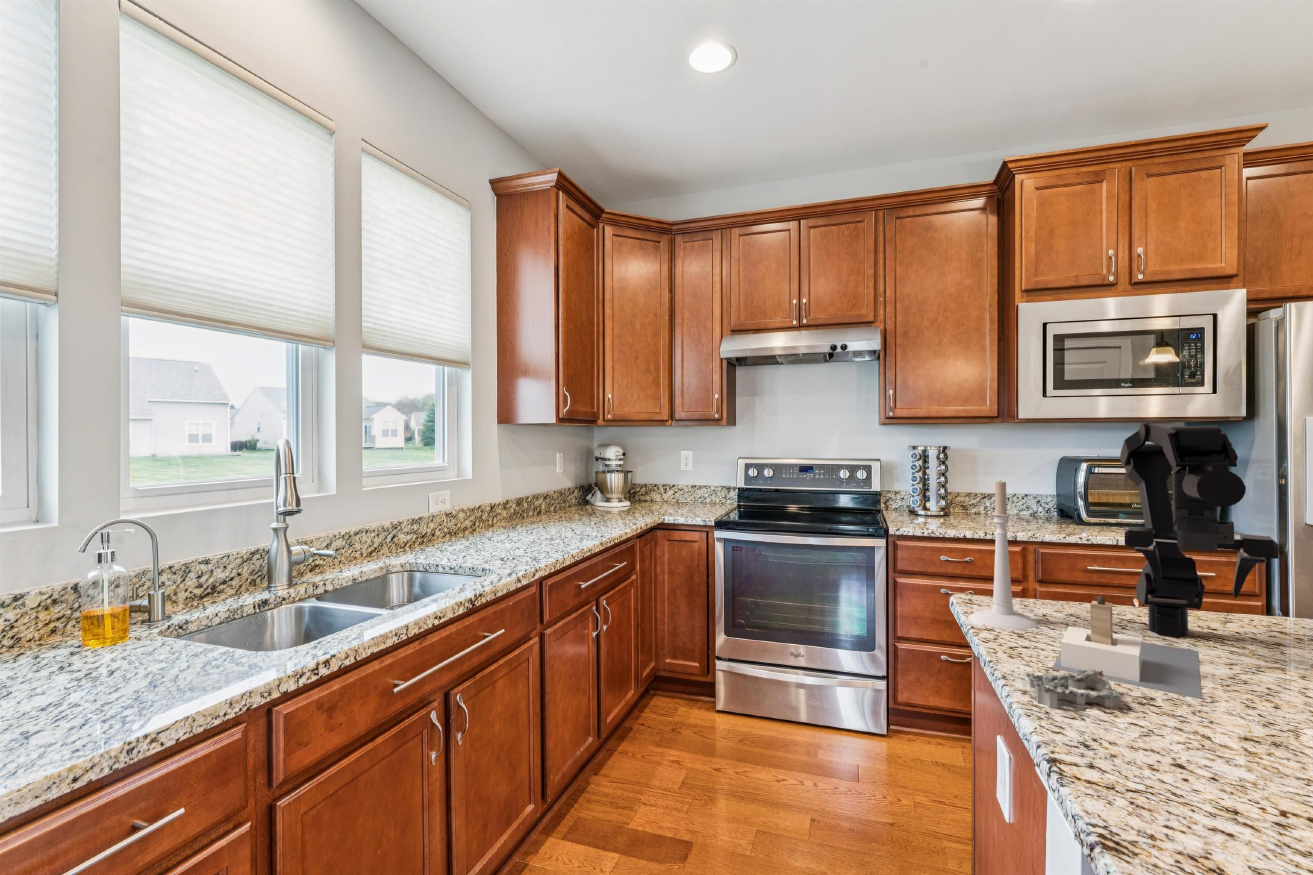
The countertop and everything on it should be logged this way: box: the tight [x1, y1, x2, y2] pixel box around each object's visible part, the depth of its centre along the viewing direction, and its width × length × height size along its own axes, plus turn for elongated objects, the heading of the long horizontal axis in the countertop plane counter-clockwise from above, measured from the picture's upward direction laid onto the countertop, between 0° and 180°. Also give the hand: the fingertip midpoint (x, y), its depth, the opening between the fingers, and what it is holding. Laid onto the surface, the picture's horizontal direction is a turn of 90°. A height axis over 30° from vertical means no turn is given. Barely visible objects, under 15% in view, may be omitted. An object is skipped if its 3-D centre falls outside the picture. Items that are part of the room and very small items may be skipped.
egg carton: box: [1026, 670, 1123, 715], centre depth 87 cm, size 11×8×4 cm
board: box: [1051, 641, 1203, 700], centre depth 99 cm, size 24×18×1 cm
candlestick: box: [967, 480, 1039, 631], centre depth 121 cm, size 13×13×30 cm
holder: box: [1060, 626, 1143, 682], centre depth 97 cm, size 10×10×4 cm
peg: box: [1089, 595, 1114, 646], centre depth 97 cm, size 3×3×11 cm
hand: (1197, 592), depth 99 cm, fingers open, 9 cm apart
